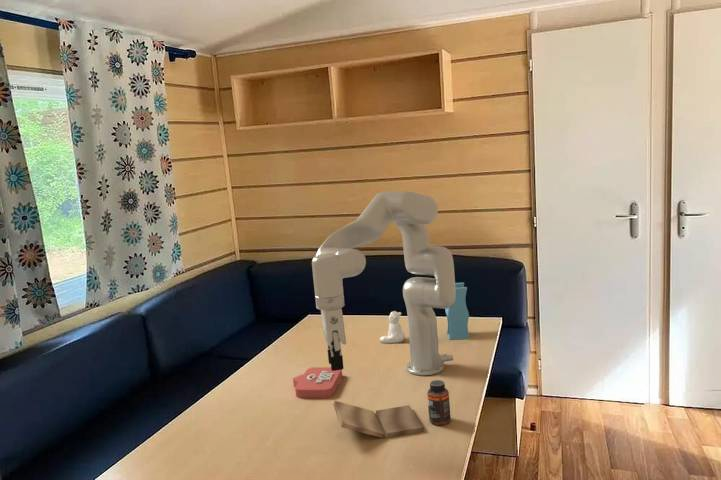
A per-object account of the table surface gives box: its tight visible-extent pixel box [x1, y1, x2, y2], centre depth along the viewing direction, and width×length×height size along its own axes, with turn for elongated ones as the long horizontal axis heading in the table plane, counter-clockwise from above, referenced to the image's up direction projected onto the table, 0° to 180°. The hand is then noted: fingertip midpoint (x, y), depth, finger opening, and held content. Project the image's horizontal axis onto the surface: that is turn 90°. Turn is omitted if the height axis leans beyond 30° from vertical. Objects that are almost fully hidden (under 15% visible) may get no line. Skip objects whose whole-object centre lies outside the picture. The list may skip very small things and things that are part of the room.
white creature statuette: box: [379, 310, 405, 344], centre depth 233 cm, size 10×9×12 cm
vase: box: [444, 282, 470, 341], centre depth 232 cm, size 8×8×20 cm
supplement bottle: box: [426, 379, 451, 426], centre depth 167 cm, size 6×6×11 cm
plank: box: [332, 400, 384, 439], centre depth 166 cm, size 12×14×1 cm
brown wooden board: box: [374, 404, 424, 439], centre depth 169 cm, size 11×14×1 cm
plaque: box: [292, 366, 343, 399], centre depth 198 cm, size 18×4×15 cm
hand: (336, 365), depth 163 cm, fingers open, 4 cm apart
